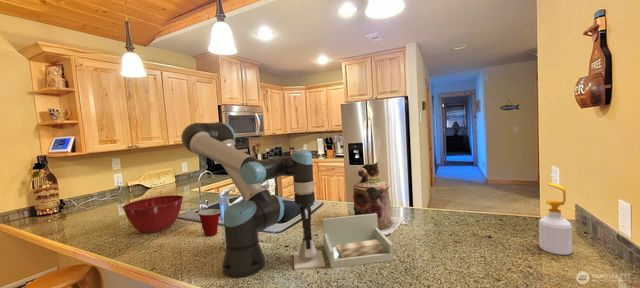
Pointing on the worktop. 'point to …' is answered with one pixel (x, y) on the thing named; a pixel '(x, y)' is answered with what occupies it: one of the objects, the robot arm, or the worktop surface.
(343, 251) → the light brown wooden block
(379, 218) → the cookie jar
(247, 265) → the robot arm
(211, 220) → the plastic cup
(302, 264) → the mat
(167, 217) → the mixing bowl
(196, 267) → the worktop surface
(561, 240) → the soap bottle
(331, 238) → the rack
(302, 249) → the flask
